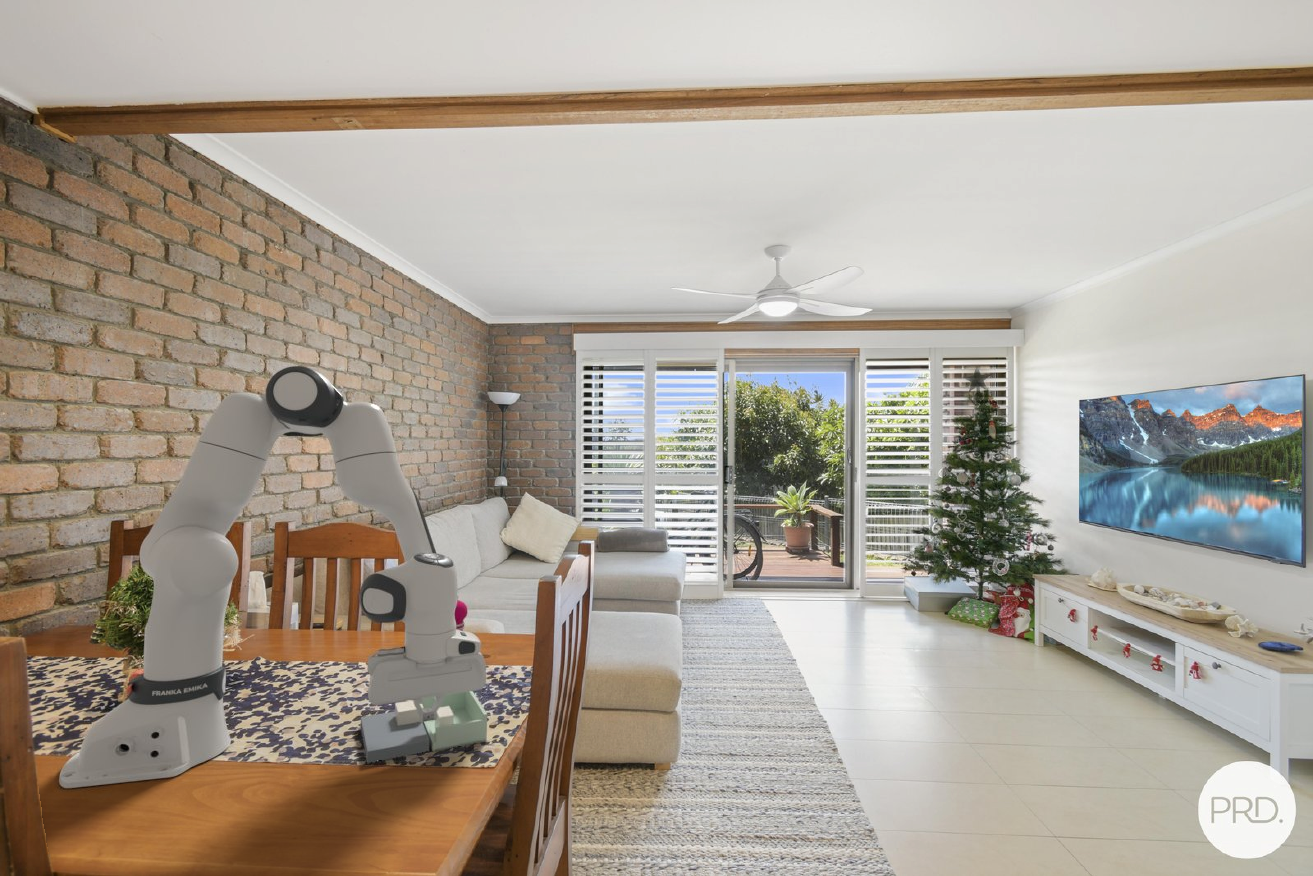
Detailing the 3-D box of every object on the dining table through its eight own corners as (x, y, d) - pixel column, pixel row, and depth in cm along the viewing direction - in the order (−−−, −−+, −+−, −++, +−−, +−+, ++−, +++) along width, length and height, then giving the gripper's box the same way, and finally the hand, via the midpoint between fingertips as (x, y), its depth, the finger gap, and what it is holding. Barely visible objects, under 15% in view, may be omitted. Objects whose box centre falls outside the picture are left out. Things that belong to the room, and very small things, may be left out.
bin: (432, 752, 114) (433, 723, 114) (418, 716, 128) (419, 691, 128) (486, 741, 118) (487, 714, 118) (467, 708, 132) (467, 684, 132)
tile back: (397, 725, 119) (398, 712, 119) (394, 716, 123) (395, 703, 123) (423, 721, 121) (423, 708, 121) (419, 712, 125) (420, 699, 125)
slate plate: (367, 763, 109) (367, 751, 109) (360, 727, 122) (360, 717, 122) (429, 751, 114) (429, 740, 114) (416, 718, 127) (416, 708, 127)
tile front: (439, 717, 116) (453, 715, 118) (435, 708, 120) (449, 706, 122) (438, 742, 116) (453, 740, 118) (434, 732, 120) (448, 730, 121)
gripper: (369, 656, 110) (366, 737, 110) (489, 642, 119) (487, 717, 119) (366, 645, 115) (363, 723, 115) (481, 633, 125) (479, 704, 125)
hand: (427, 720), depth 117 cm, fingers closed
